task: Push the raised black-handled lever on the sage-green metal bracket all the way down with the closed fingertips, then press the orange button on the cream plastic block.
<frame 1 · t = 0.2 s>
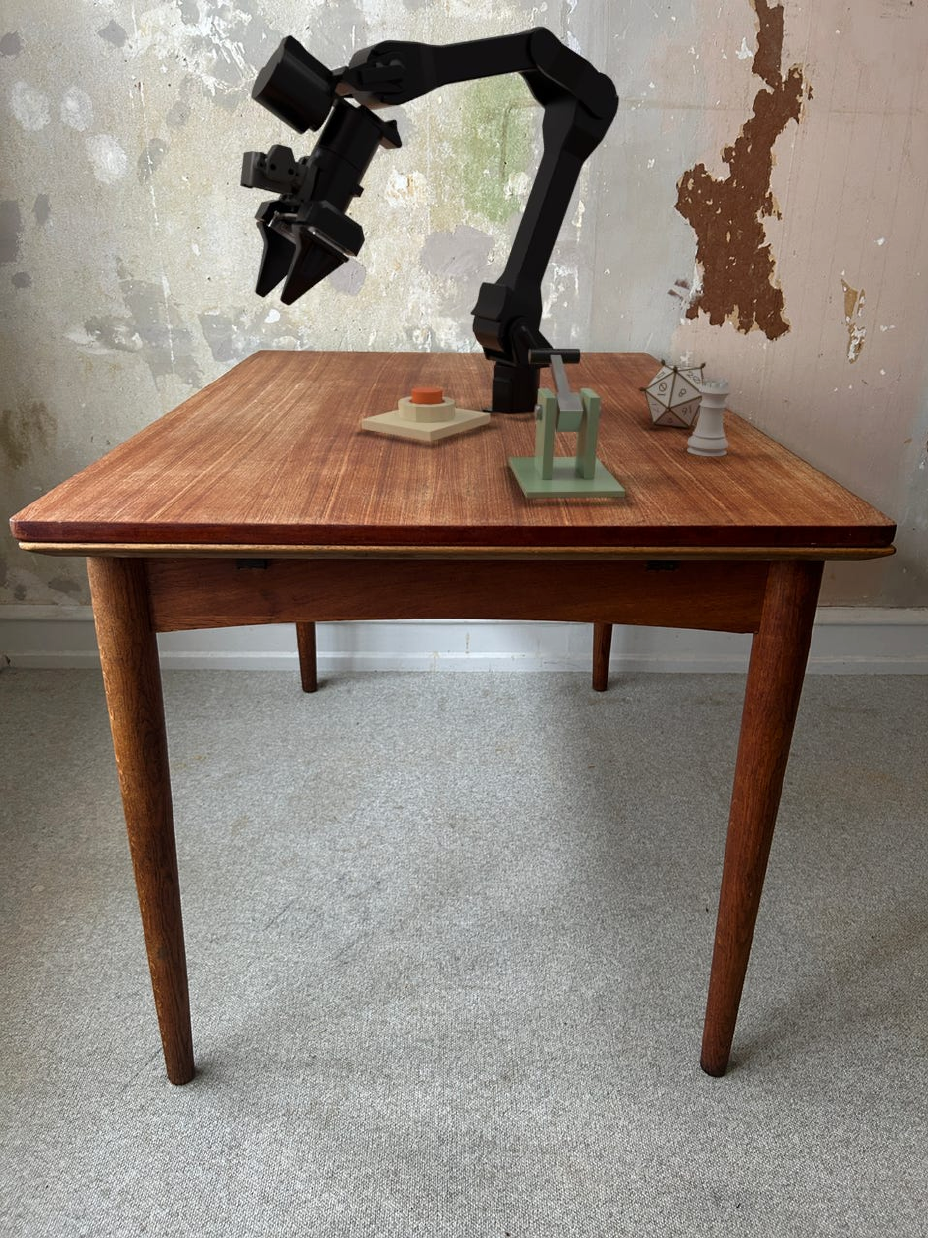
hand: (271, 299, 95), 15 cm above the table, tool tilted 30°, fingers open, 9 cm apart
toaster bracket: (563, 485, 86), on the table
rook chess piece: (705, 458, 96), on the table
game die: (673, 431, 108), on the table
lever: (561, 385, 85), point 9 cm above the table, hinge at 25.0°
button block: (427, 430, 105), on the table
button: (426, 396, 104), point 4 cm above the table, slide at 0.1 cm
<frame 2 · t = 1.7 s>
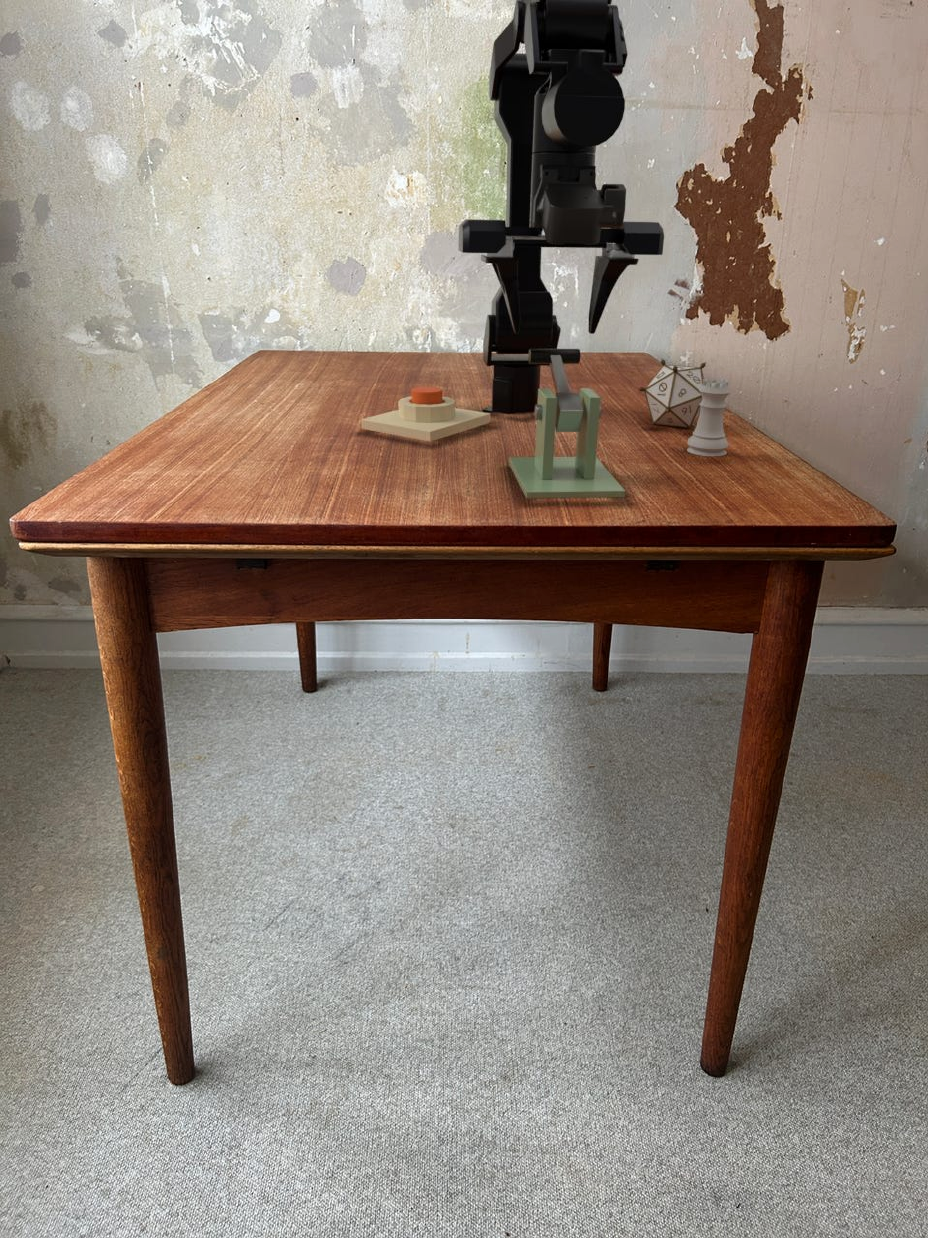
hand: (554, 333, 87), 13 cm above the table, tool pointing down, fingers open, 7 cm apart
nothing on the table moved.
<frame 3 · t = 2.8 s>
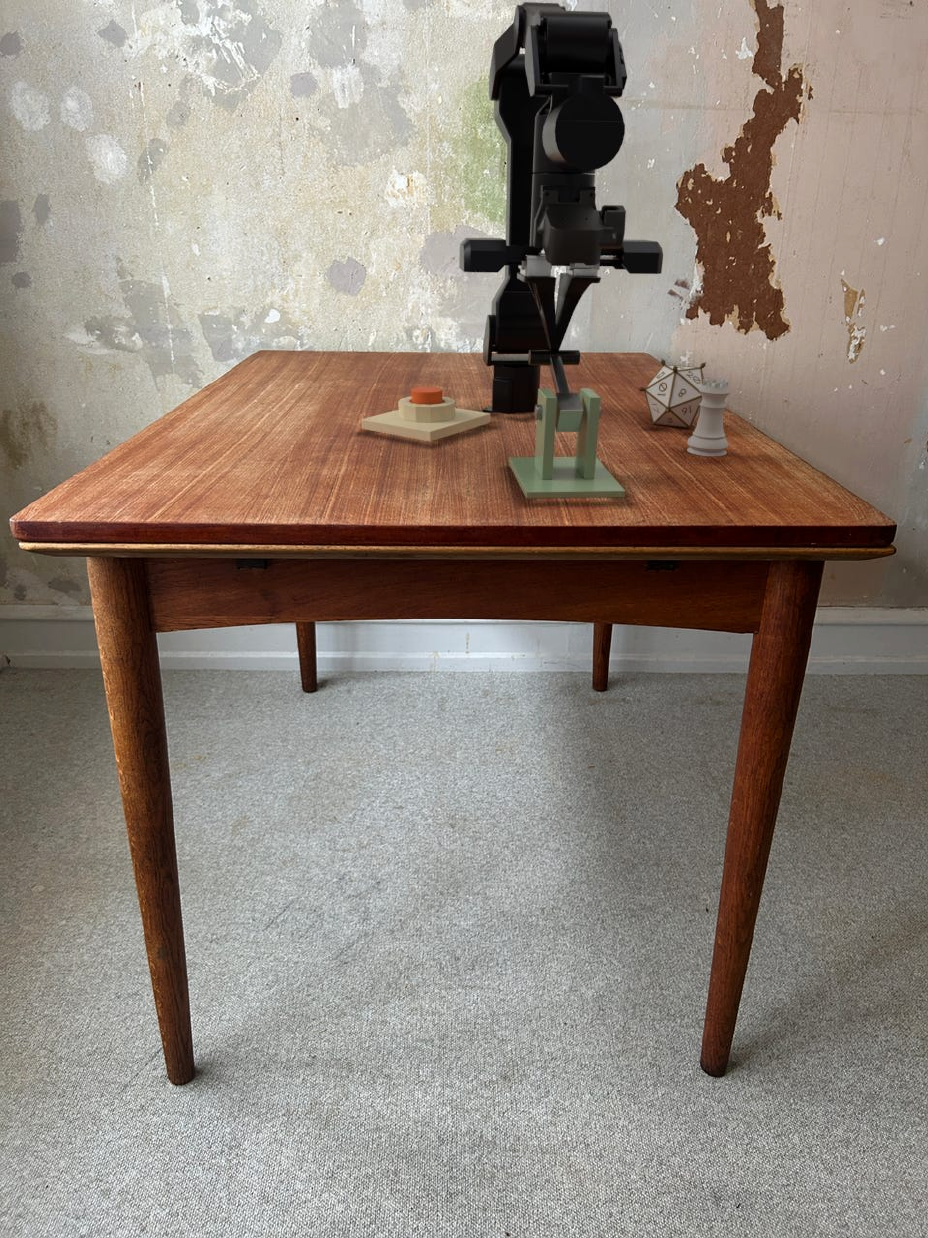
hand: (554, 349, 88), 11 cm above the table, tool pointing down, fingers closed, pressing on lever
lever: (561, 385, 85), point 9 cm above the table, hinge at 24.0°, touching gripper
everything else where it was.
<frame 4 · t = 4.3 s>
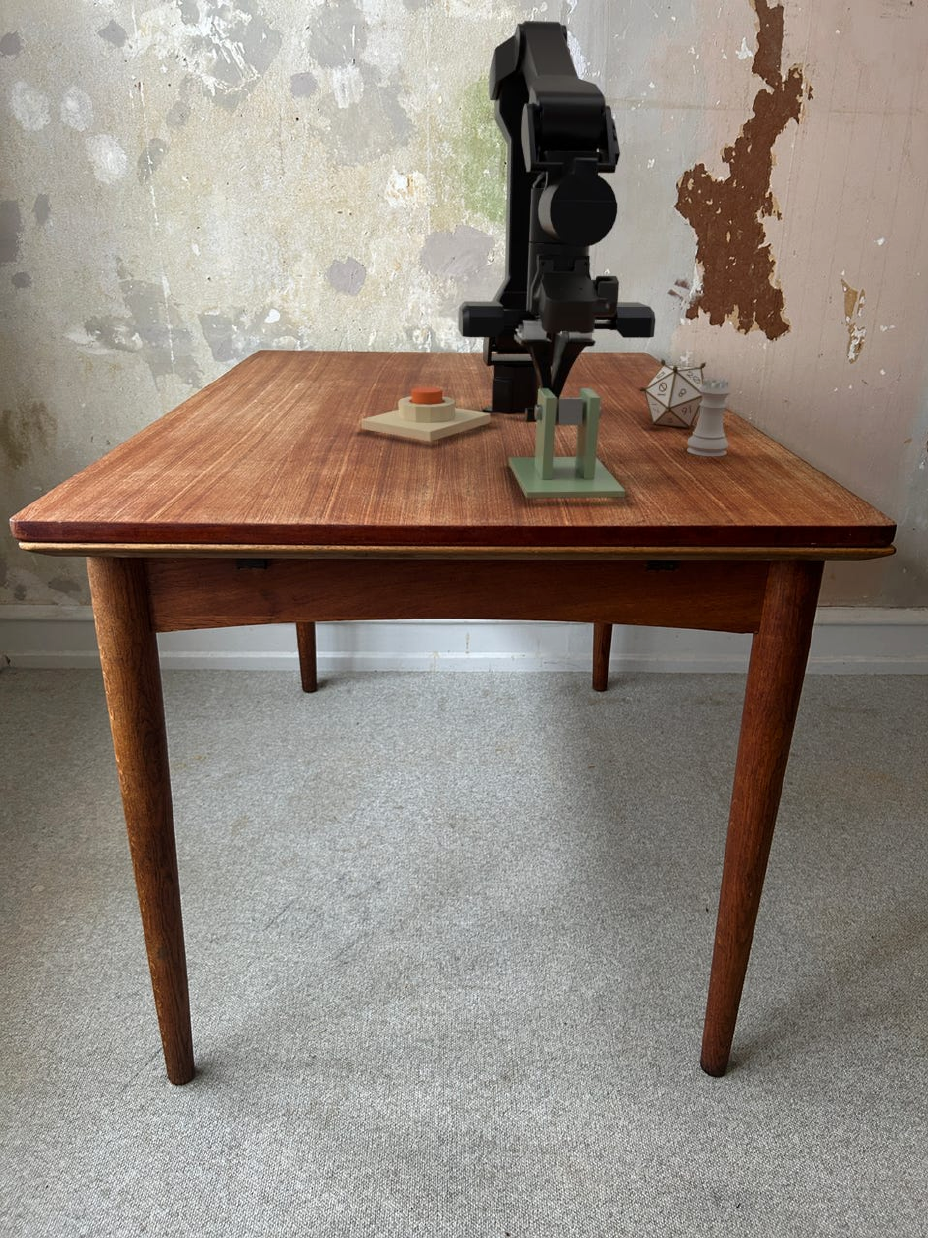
hand: (550, 407, 91), 6 cm above the table, tool pointing down, fingers closed, pressing on lever
lever: (559, 413, 87), point 6 cm above the table, hinge at -13.7°, touching gripper
everything else where it was.
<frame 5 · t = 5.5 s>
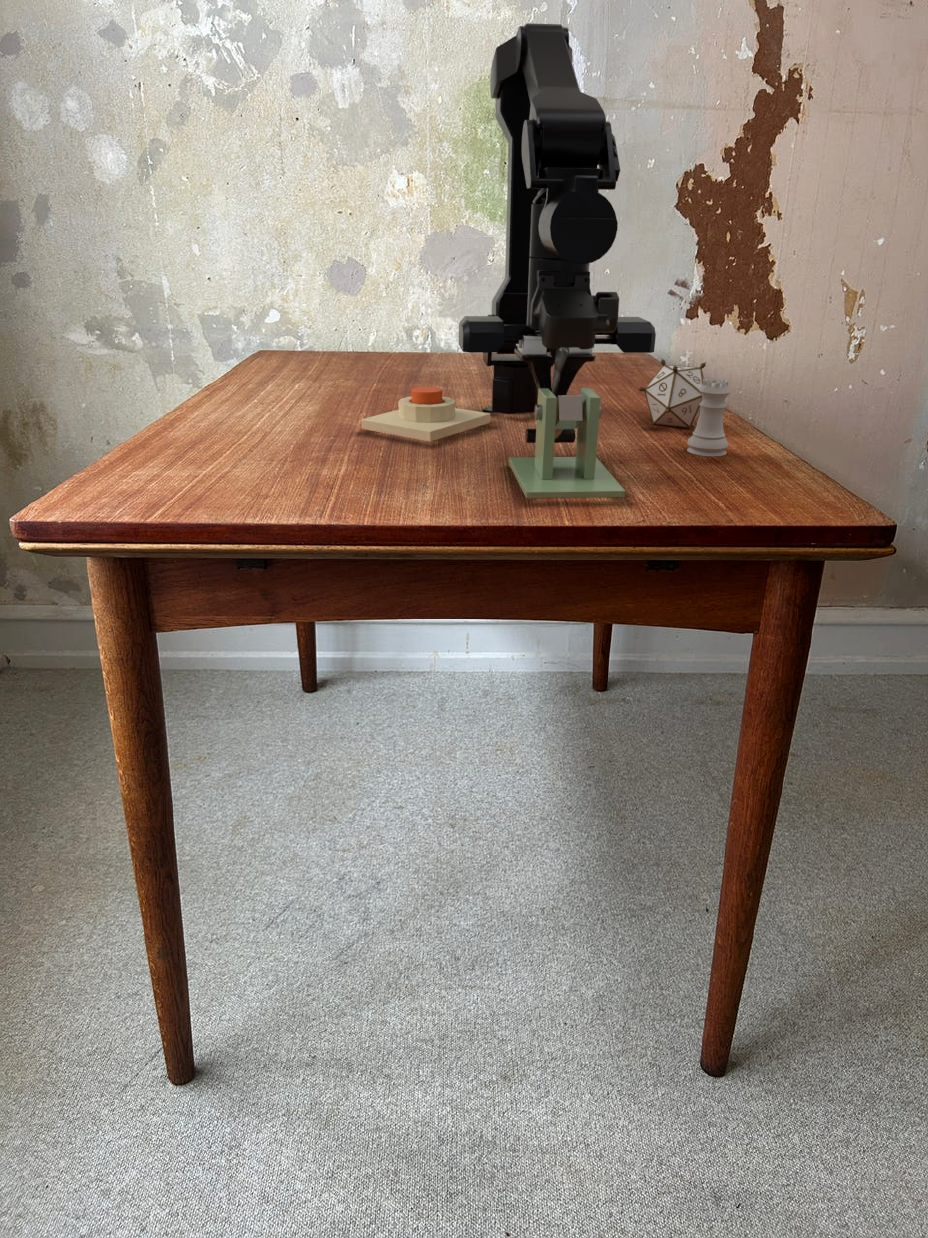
hand: (550, 422, 91), 4 cm above the table, tool pointing down, fingers closed
lever: (559, 423, 87), point 5 cm above the table, hinge at -27.2°
everything else where it was.
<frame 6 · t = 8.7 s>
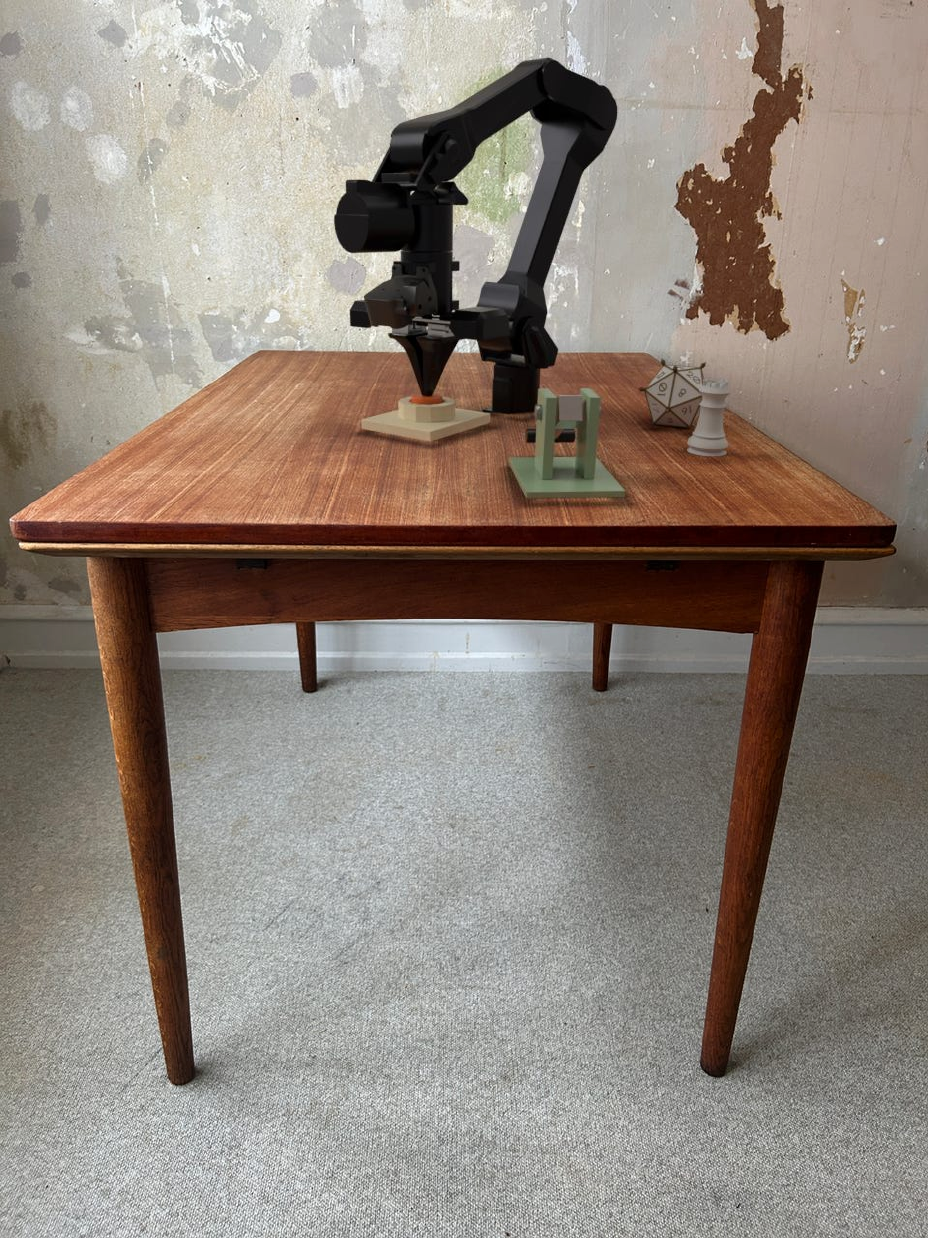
hand: (427, 395, 104), 4 cm above the table, tool pointing down, fingers closed, pressing on button
button: (427, 403, 104), point 3 cm above the table, slide at -0.7 cm, touching gripper
everything else where it was.
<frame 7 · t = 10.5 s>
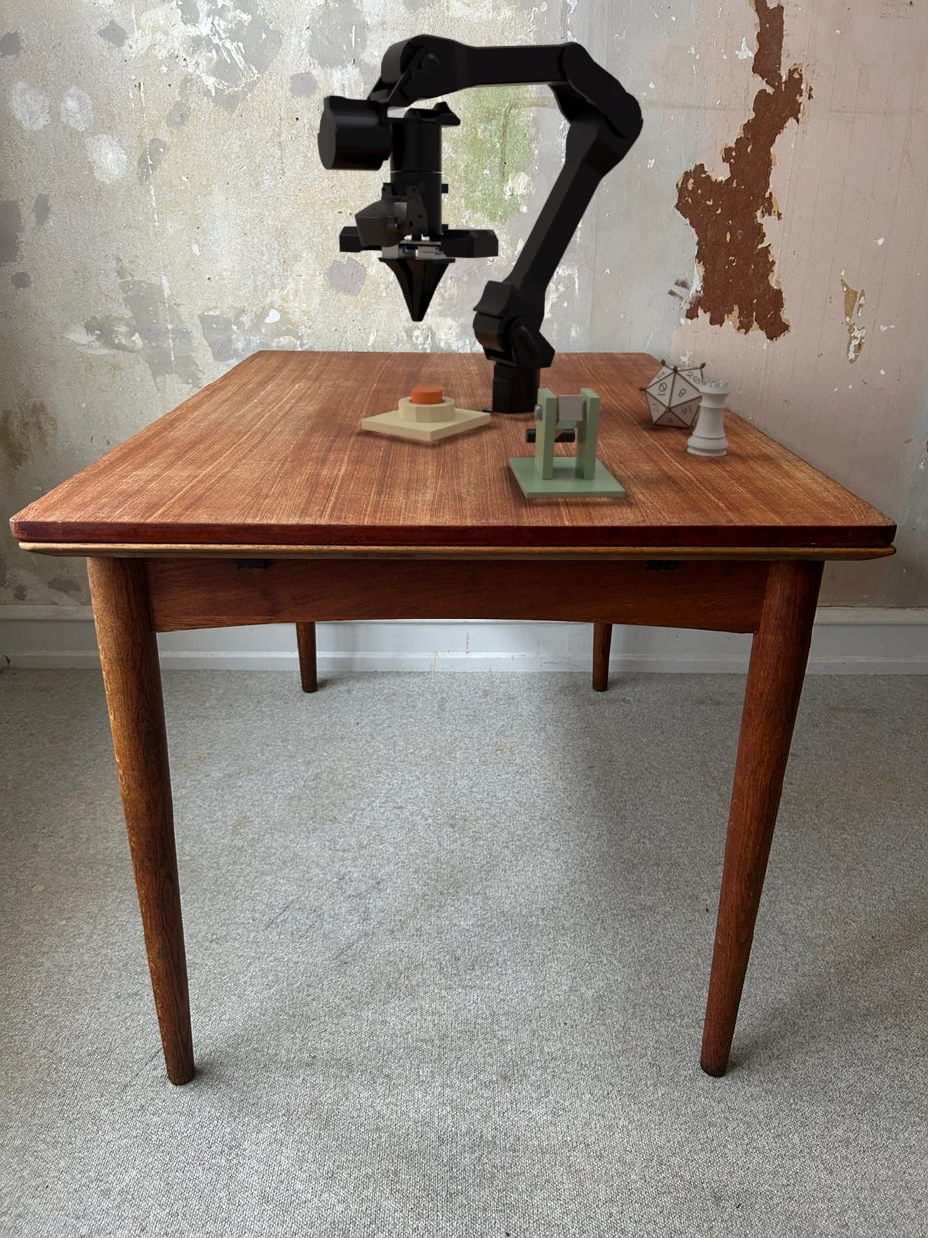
hand: (417, 321, 104), 12 cm above the table, tool pointing down, fingers closed
button: (426, 396, 104), point 4 cm above the table, slide at 0.1 cm
everything else where it was.
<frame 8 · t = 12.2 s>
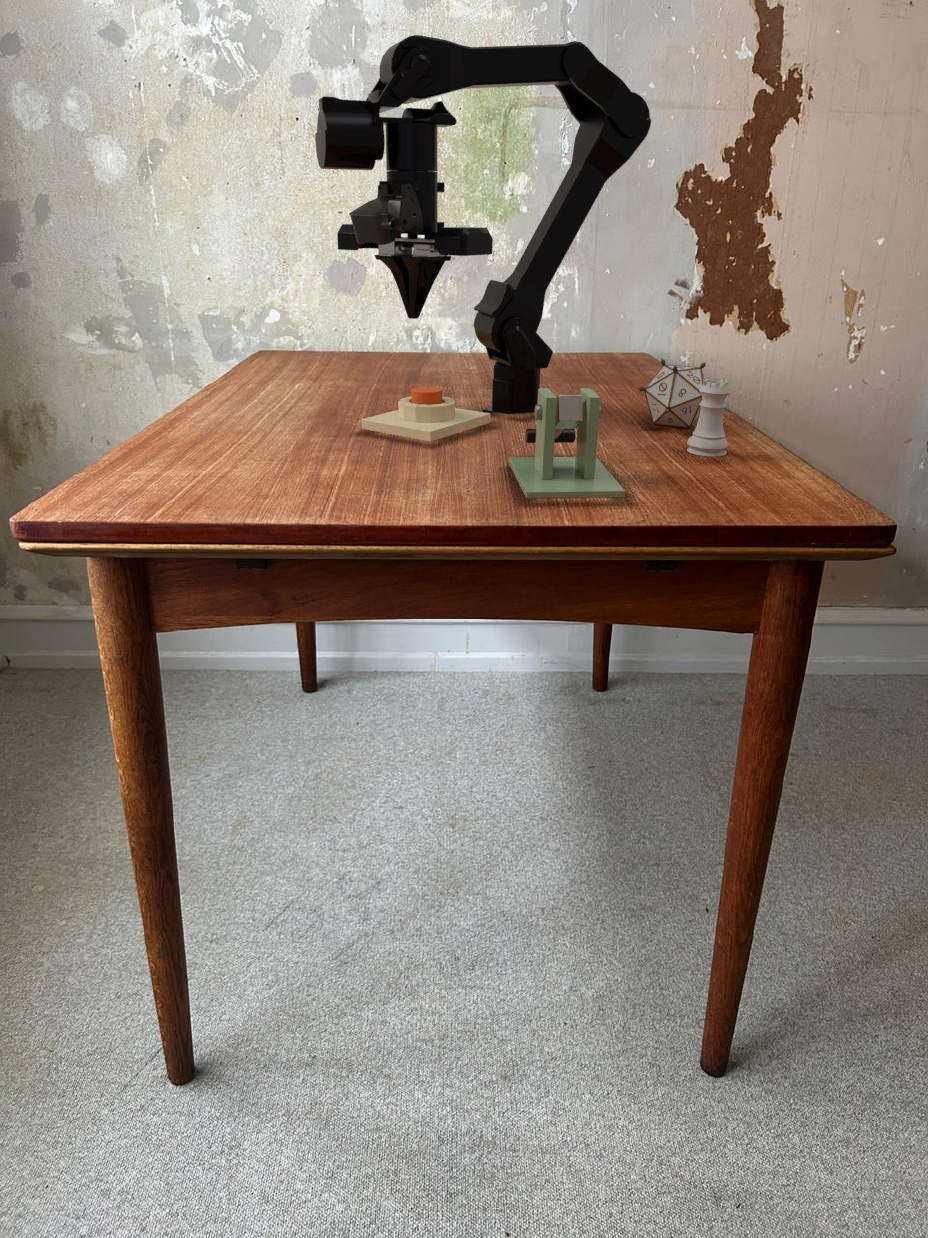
hand: (413, 318, 106), 12 cm above the table, tool pointing down, fingers closed
nothing on the table moved.
at the end: lever at -27° (first picture: +25°); button pushed in 1.1 cm at the most during the clip, back to where it started at the end; button slide at 0.1 cm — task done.
